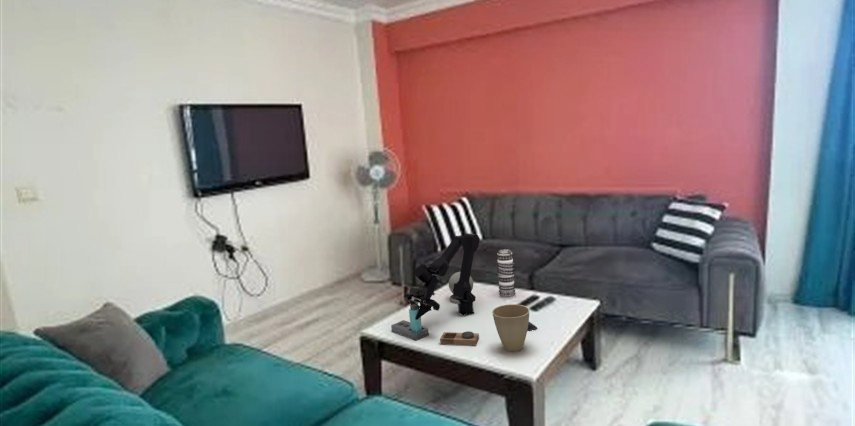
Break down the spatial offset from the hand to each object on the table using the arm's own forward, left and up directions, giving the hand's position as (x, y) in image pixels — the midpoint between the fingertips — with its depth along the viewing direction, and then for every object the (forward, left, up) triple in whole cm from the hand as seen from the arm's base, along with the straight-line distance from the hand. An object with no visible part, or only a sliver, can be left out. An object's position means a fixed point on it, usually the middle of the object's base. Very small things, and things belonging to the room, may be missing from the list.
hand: (413, 318), depth 226 cm
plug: (-1, -1, -7) cm, 7 cm away
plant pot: (-36, +27, -9) cm, 46 cm away
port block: (+1, -5, -8) cm, 10 cm away
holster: (-17, +13, -8) cm, 23 cm away
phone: (-48, +7, -9) cm, 49 cm away
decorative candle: (-55, -31, -9) cm, 64 cm away
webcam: (-32, -37, -9) cm, 50 cm away
